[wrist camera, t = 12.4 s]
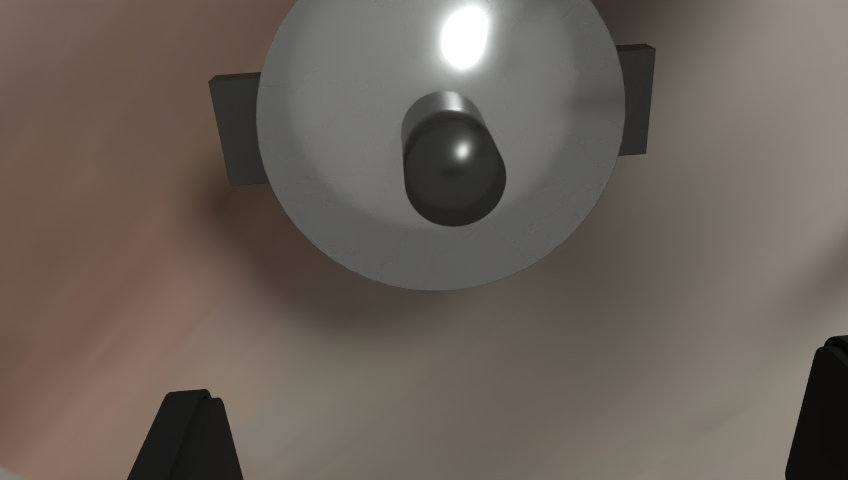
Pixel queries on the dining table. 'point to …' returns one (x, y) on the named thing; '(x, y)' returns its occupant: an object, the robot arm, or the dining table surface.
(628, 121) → the pot
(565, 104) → the lid
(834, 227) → the dining table surface
